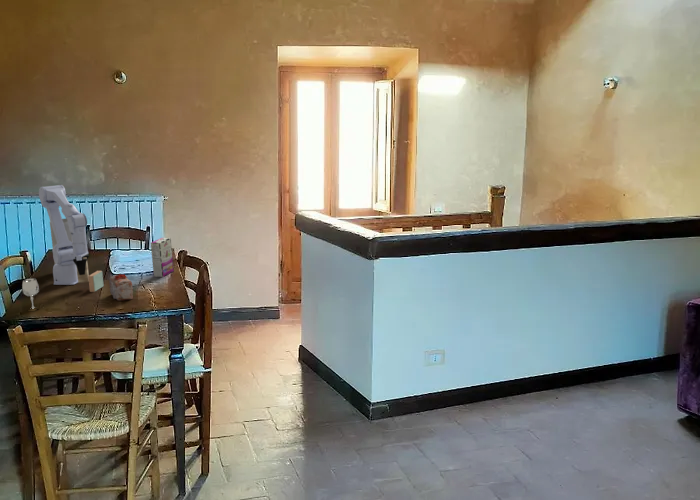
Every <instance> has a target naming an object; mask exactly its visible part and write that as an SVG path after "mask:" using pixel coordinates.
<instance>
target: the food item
mask: <svg viewBox="0 0 700 500" xmlns="http://www.w3.org/2000/svg"><path fill="white" fill-rule="evenodd" d="M108 279H109V280H108V282H109V283H108V284H109V293H110V294H111V295H112V299H113V300H117V301H119V302H121V301H122V302H123V301H129V300H133V299H134V298H133V297H134V293H133V292H134V291H133V290H134V288H133V283H132V281H131V280H130V279H128V276H127V275H125V274H121V273H119V274H114V275H111V276H109V278H108Z"/></svg>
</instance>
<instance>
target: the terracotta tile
mask: <svg viewBox="0 0 700 500" xmlns="http://www.w3.org/2000/svg"><path fill="white" fill-rule="evenodd" d="M103 276H104V275H103V271H102V270H96V271H95V272H93V273H91V274H89V276H88V279H89V281H88V285H89V286H88V288H89V292H90V293H95V292H97V291H98V290H100V289H101V288H103V287H104V278H103Z"/></svg>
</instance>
